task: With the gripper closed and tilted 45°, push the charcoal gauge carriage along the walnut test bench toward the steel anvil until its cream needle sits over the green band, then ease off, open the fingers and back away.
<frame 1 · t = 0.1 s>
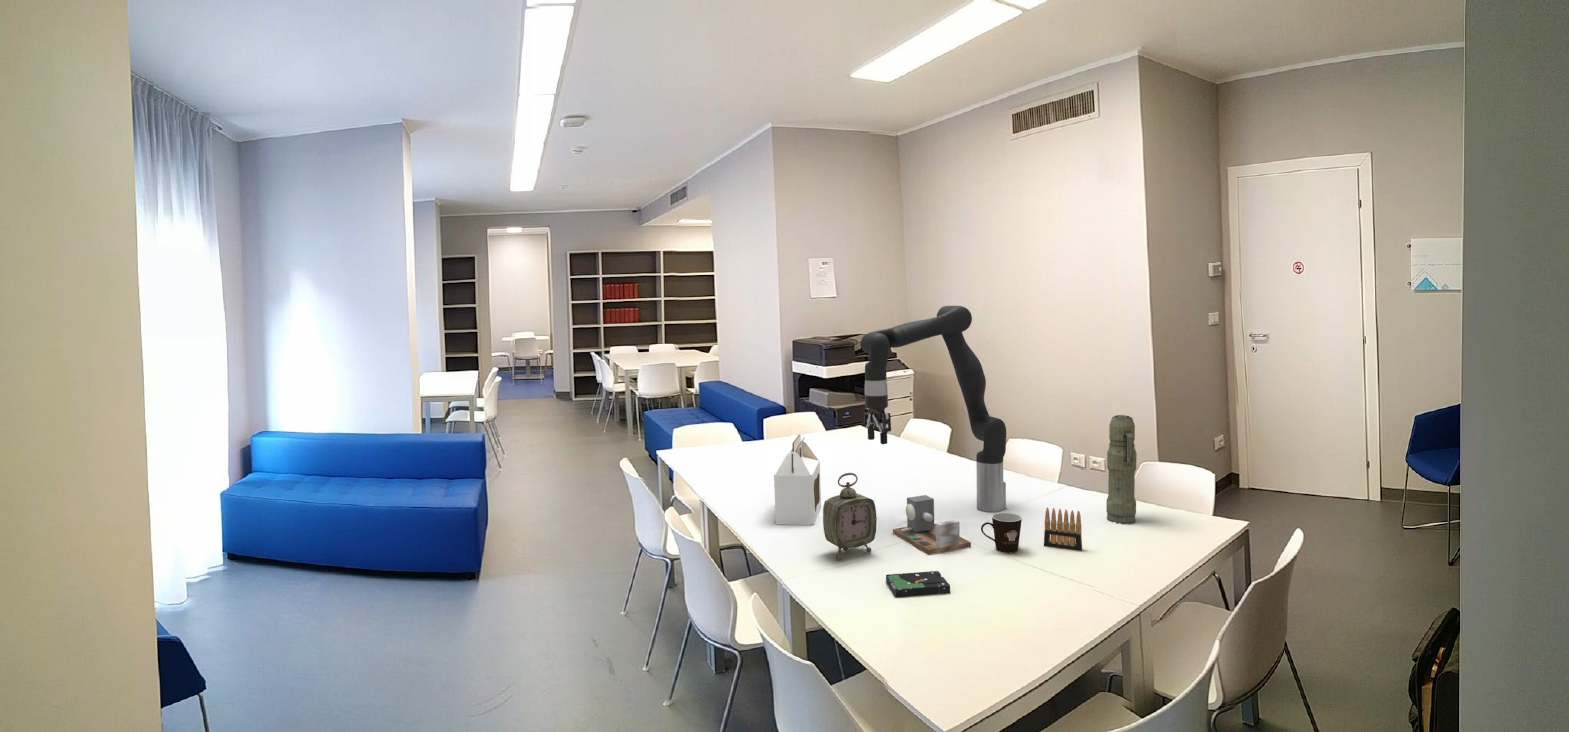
hand: (877, 441, 240), 29 cm above the table, tool pointing down, fingers open, 8 cm apart
disk drive: (917, 589, 192), on the table
ammunition clip: (1062, 548, 217), on the table
thermos: (1120, 520, 241), on the table
gable box: (799, 516, 258), on the table
coffee mug: (1001, 549, 218), on the table
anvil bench: (930, 539, 228), on the table
tabletop clock: (849, 554, 219), on the table
gauge carriage: (918, 515, 231), point 7 cm above the table, slide at 0.0 cm
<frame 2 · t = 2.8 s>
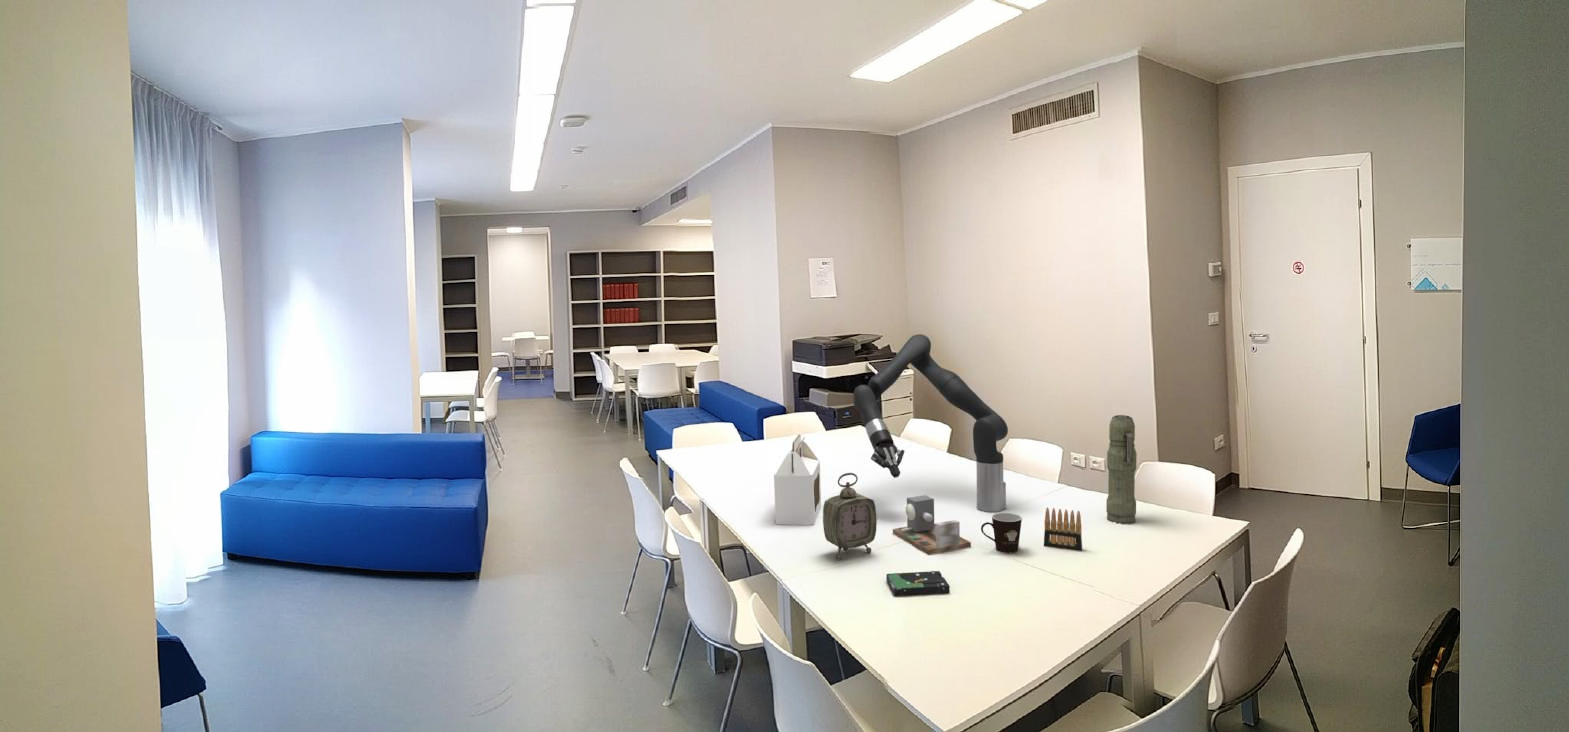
hand: (896, 476, 246), 16 cm above the table, tool tilted 45°, fingers closed
nothing on the table moved.
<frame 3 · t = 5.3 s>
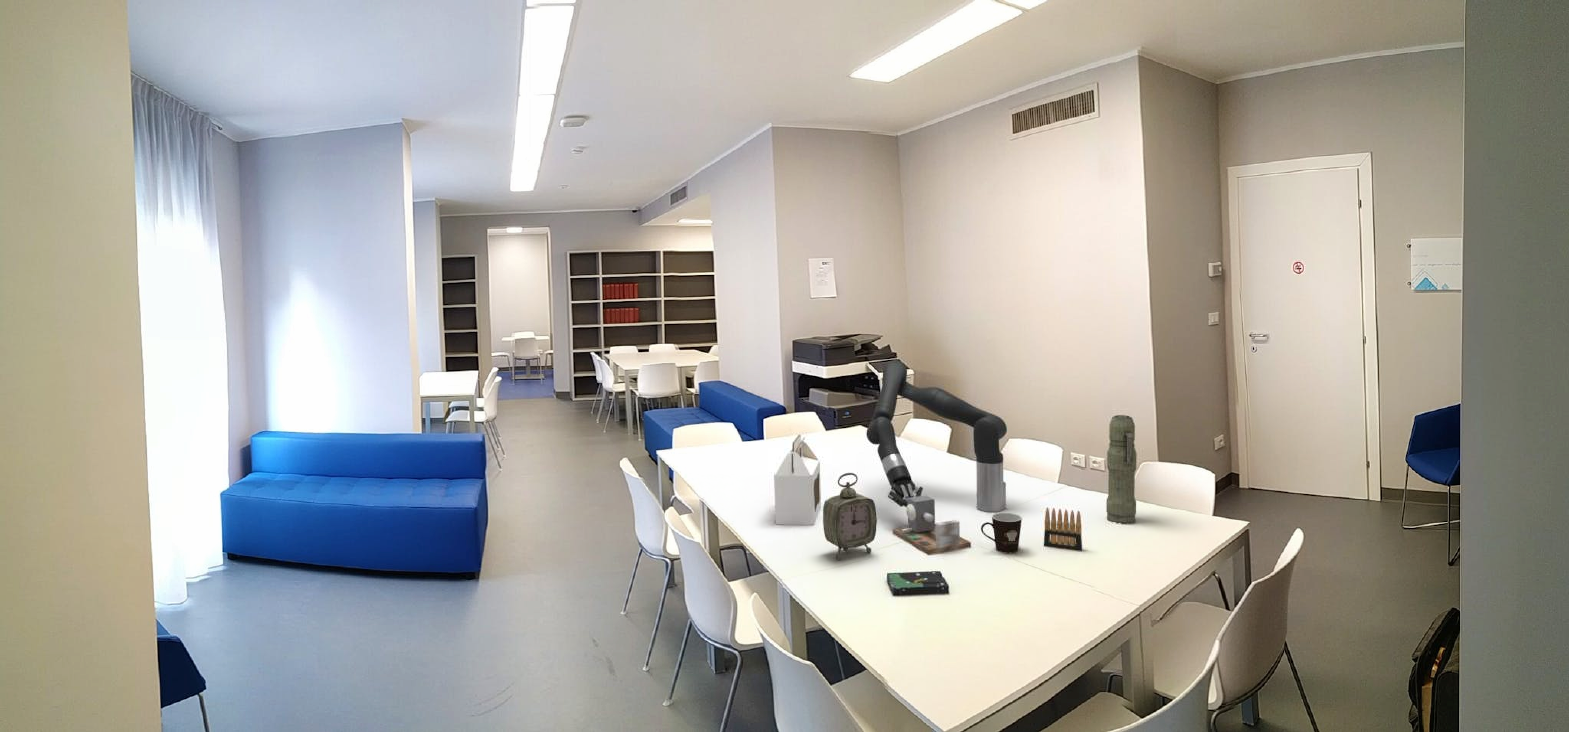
hand: (915, 515, 235), 6 cm above the table, tool tilted 45°, fingers closed
gauge carriage: (918, 515, 230), point 7 cm above the table, slide at 0.4 cm, touching gripper
everything else where it was.
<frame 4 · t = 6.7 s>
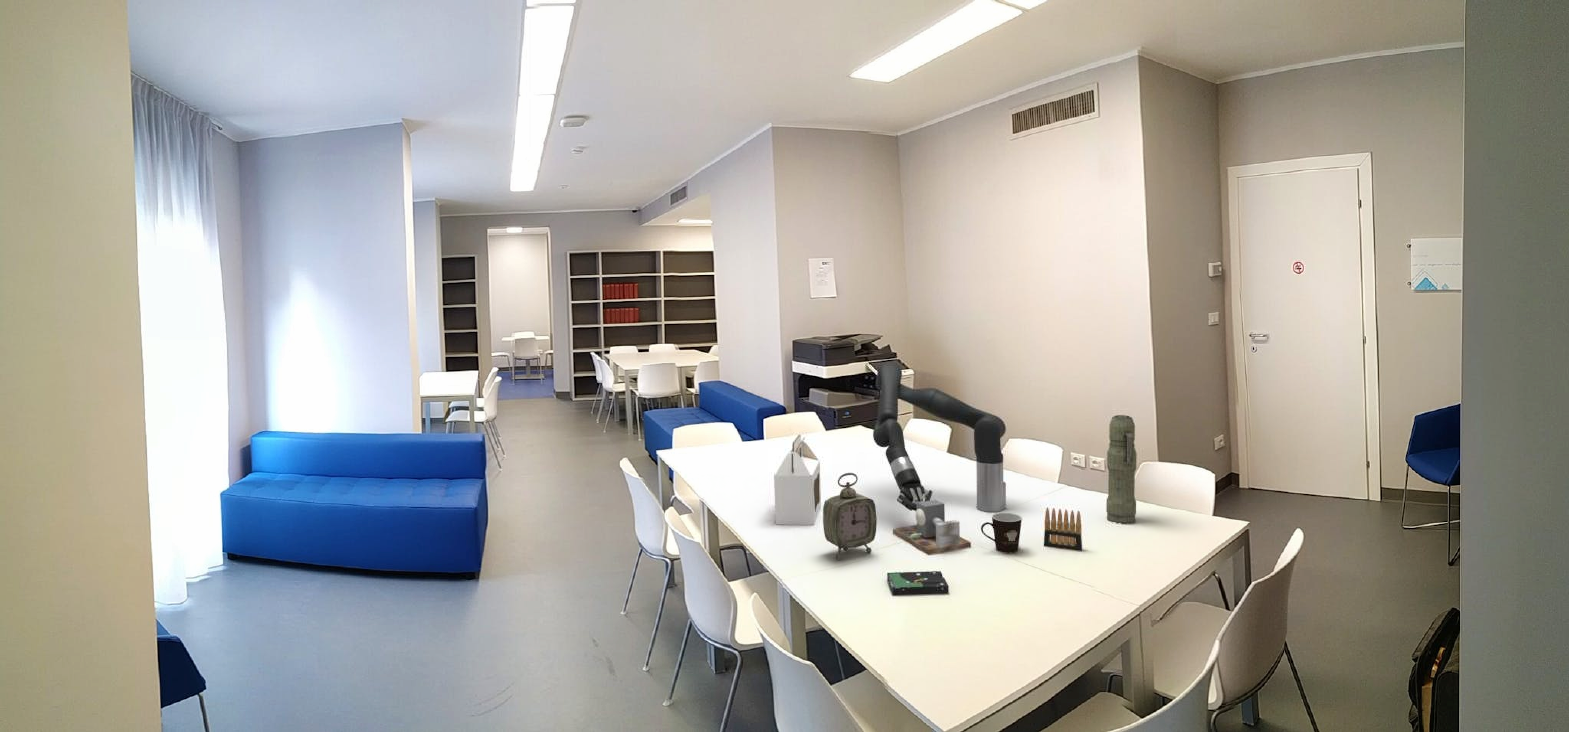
hand: (924, 519, 230), 6 cm above the table, tool tilted 45°, fingers closed
gauge carriage: (928, 520, 225), point 7 cm above the table, slide at 6.0 cm, touching gripper
everything else where it was.
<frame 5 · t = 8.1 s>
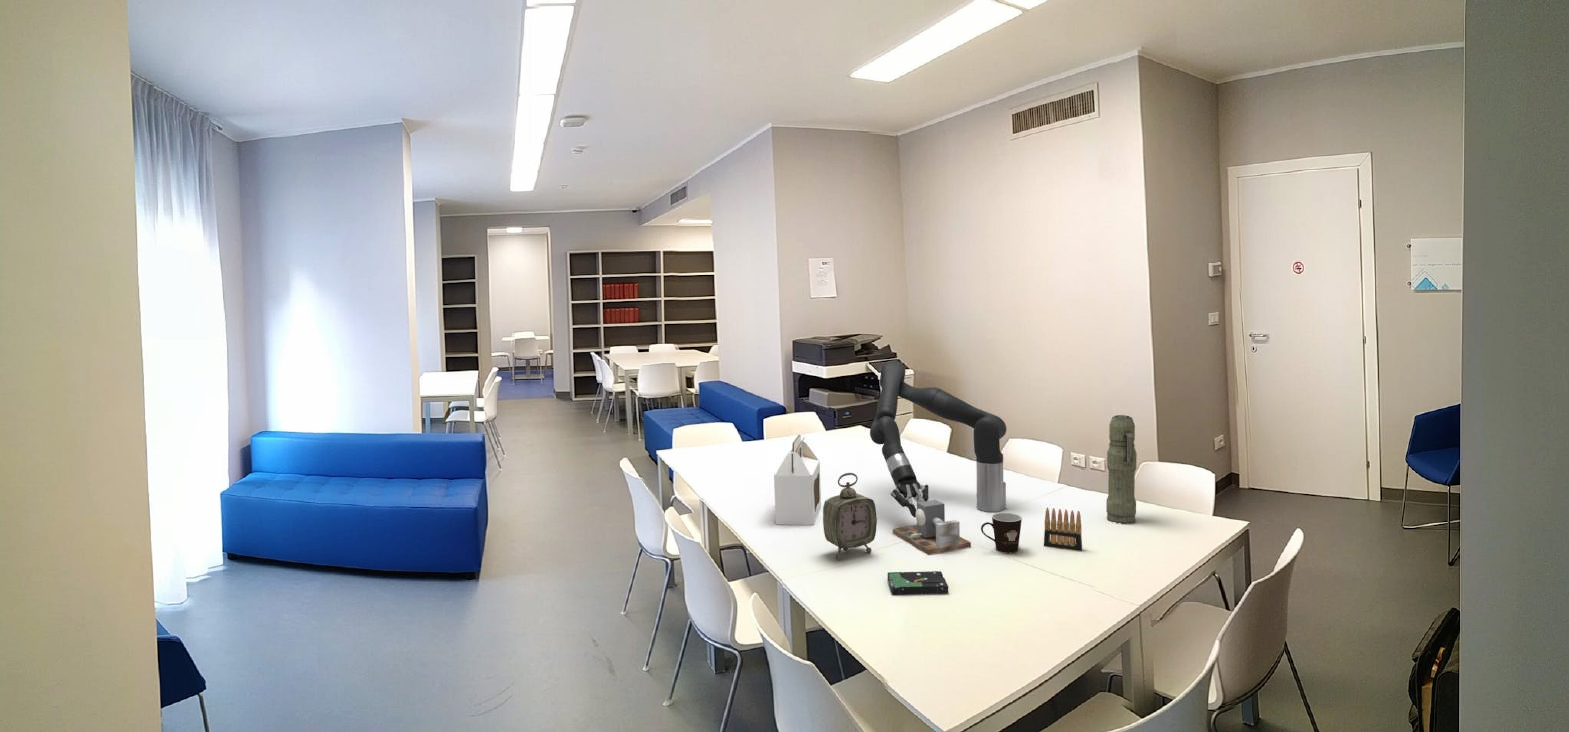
hand: (920, 515, 233), 6 cm above the table, tool tilted 45°, fingers open, 3 cm apart
gauge carriage: (928, 520, 225), point 7 cm above the table, slide at 6.0 cm
everything else where it was.
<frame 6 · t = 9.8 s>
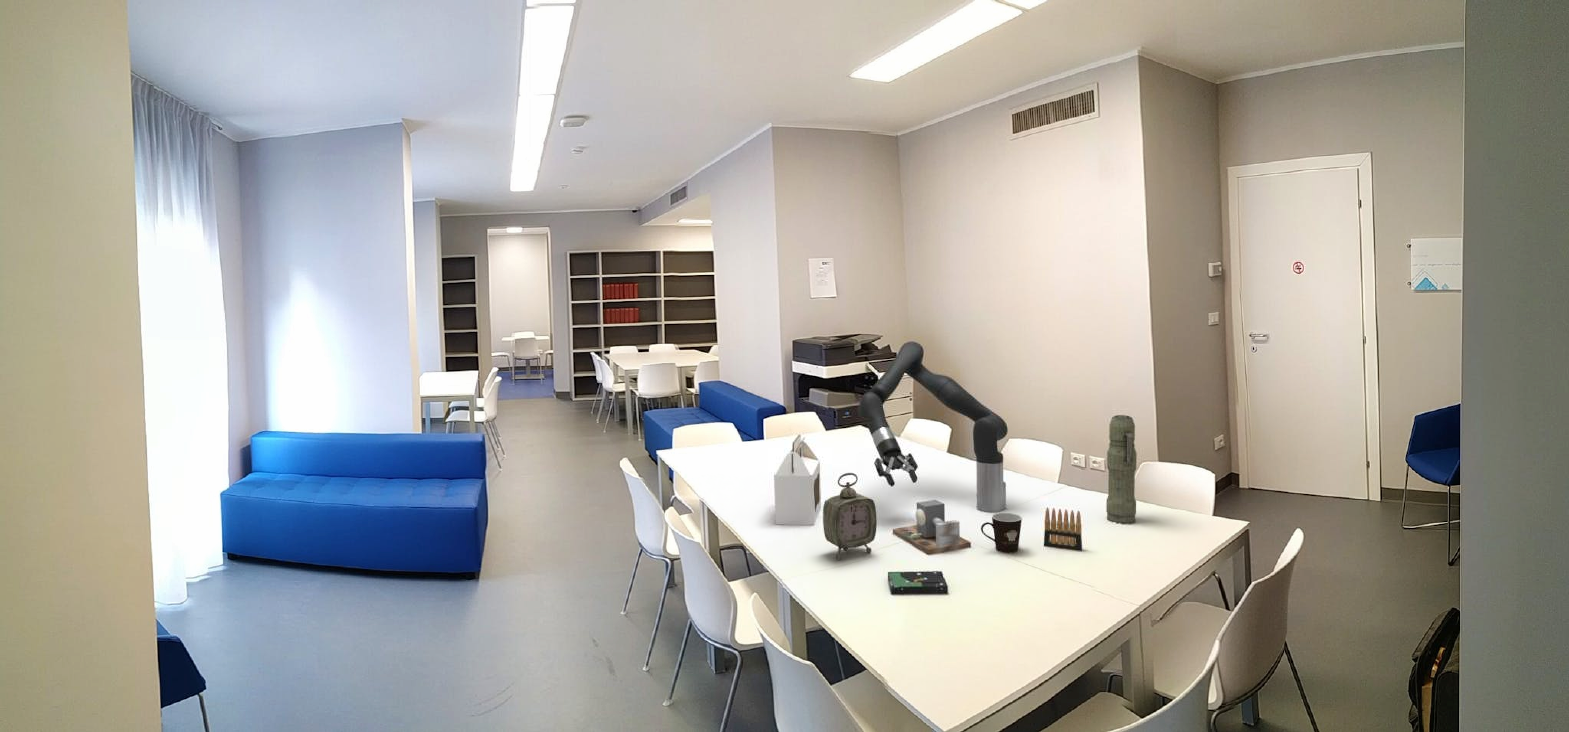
hand: (904, 483, 241), 15 cm above the table, tool tilted 45°, fingers open, 8 cm apart
nothing on the table moved.
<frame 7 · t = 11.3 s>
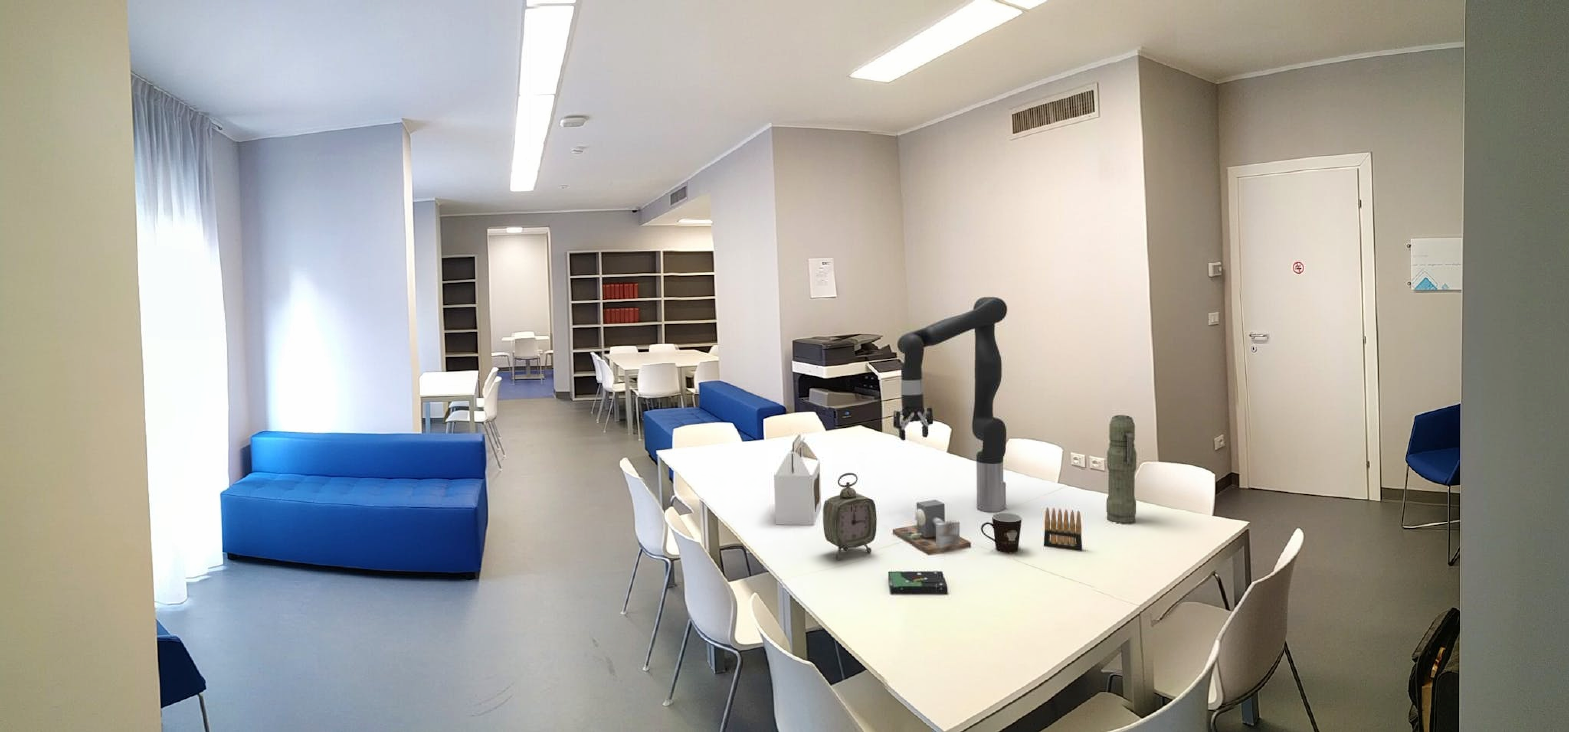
hand: (913, 438, 250), 27 cm above the table, tool pointing down, fingers open, 8 cm apart
nothing on the table moved.
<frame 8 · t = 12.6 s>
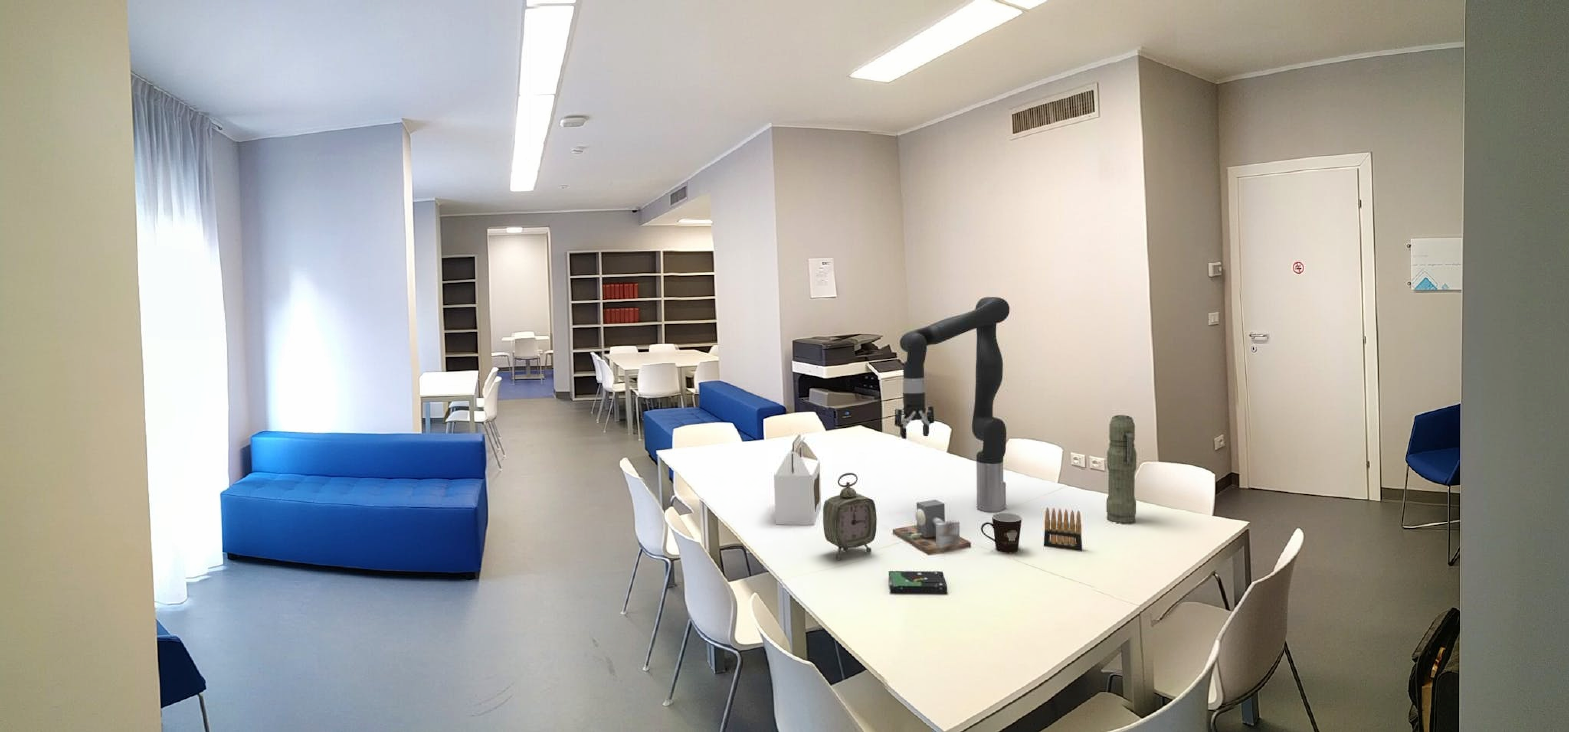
hand: (914, 437, 249), 28 cm above the table, tool pointing down, fingers open, 8 cm apart
at the end: gauge carriage slide at 6.0 cm; gauge carriage touching nothing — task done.
